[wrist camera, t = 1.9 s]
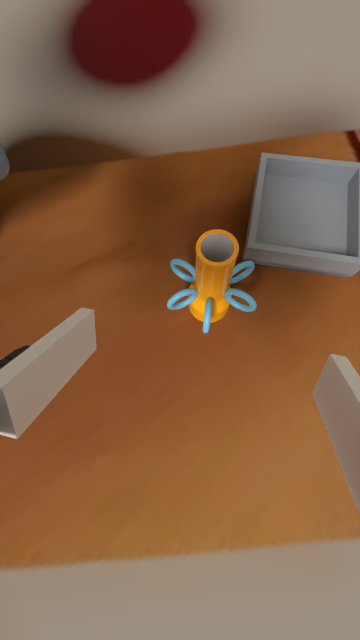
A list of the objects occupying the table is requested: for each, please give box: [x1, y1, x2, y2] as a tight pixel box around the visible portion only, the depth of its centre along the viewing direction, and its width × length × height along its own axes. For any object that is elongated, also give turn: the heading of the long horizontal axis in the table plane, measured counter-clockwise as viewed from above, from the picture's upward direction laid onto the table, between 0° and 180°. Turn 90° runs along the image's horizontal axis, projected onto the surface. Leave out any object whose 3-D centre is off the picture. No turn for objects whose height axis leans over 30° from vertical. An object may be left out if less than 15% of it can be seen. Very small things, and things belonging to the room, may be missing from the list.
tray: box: [242, 153, 360, 278], centre depth 39 cm, size 16×18×4 cm
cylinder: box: [167, 229, 257, 333], centre depth 31 cm, size 12×10×15 cm
